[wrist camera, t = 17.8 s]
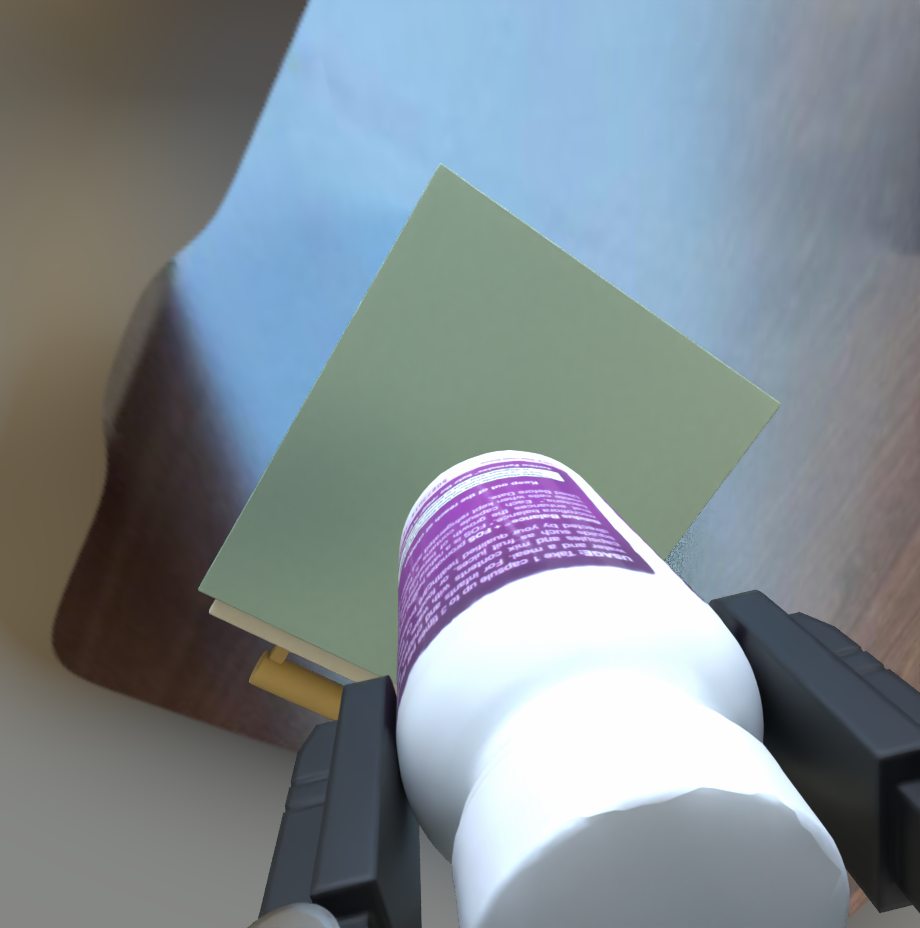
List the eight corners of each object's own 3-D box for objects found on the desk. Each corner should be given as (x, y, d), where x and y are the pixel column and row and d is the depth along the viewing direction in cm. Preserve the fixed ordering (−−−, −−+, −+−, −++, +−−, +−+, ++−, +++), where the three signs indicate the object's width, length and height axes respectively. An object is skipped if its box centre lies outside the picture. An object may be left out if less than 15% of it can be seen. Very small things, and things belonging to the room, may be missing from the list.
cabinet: (490, 610, 31) (525, 746, 21) (266, 492, 28) (196, 590, 19) (658, 367, 28) (782, 403, 19) (428, 210, 25) (440, 162, 16)
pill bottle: (363, 596, 15) (295, 1073, 6) (456, 410, 14) (554, 637, 5) (546, 668, 16) (734, 1170, 7) (646, 500, 15) (1030, 829, 6)
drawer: (426, 695, 31) (432, 825, 23) (220, 597, 28) (152, 707, 21) (626, 405, 27) (709, 448, 20) (412, 265, 25) (414, 253, 17)
